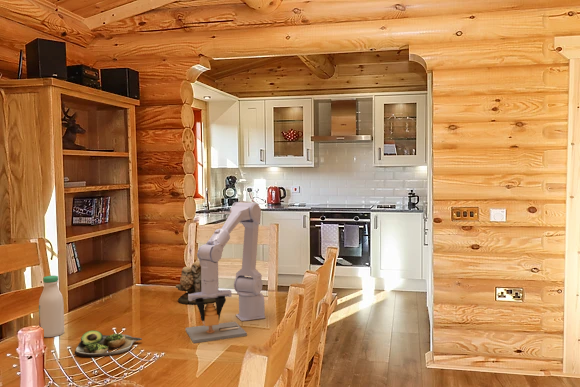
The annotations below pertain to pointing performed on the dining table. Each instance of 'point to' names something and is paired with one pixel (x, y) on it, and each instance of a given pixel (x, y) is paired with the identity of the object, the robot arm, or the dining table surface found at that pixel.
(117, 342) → the salad plate
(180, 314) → the dining table surface
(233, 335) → the grey peg board
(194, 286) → the owl figurine
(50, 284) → the milk bottle
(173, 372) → the dining table surface
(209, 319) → the wire nut
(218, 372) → the dining table surface
